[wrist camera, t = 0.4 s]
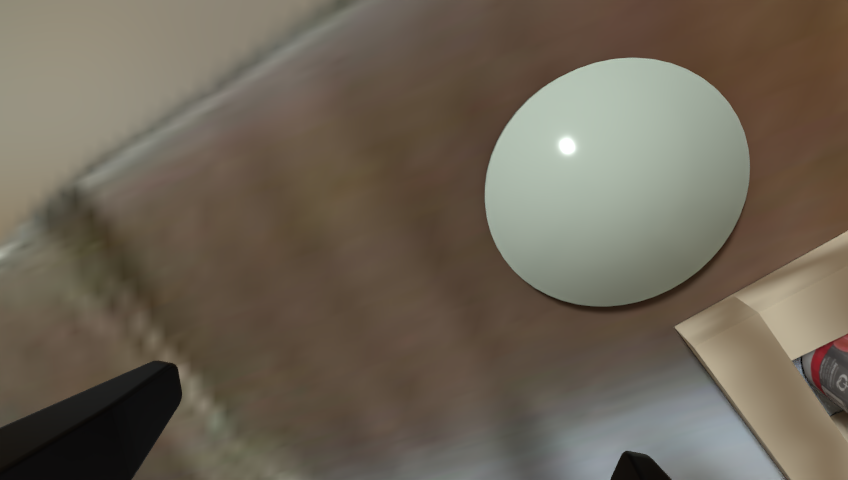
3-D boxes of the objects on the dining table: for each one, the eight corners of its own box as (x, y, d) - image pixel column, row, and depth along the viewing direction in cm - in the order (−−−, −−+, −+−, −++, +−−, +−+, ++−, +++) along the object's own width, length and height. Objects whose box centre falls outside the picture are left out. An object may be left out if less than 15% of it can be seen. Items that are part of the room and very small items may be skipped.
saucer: (702, 306, 21) (713, 314, 20) (477, 290, 22) (477, 297, 21) (767, 61, 17) (784, 58, 16) (493, 59, 19) (494, 56, 18)
